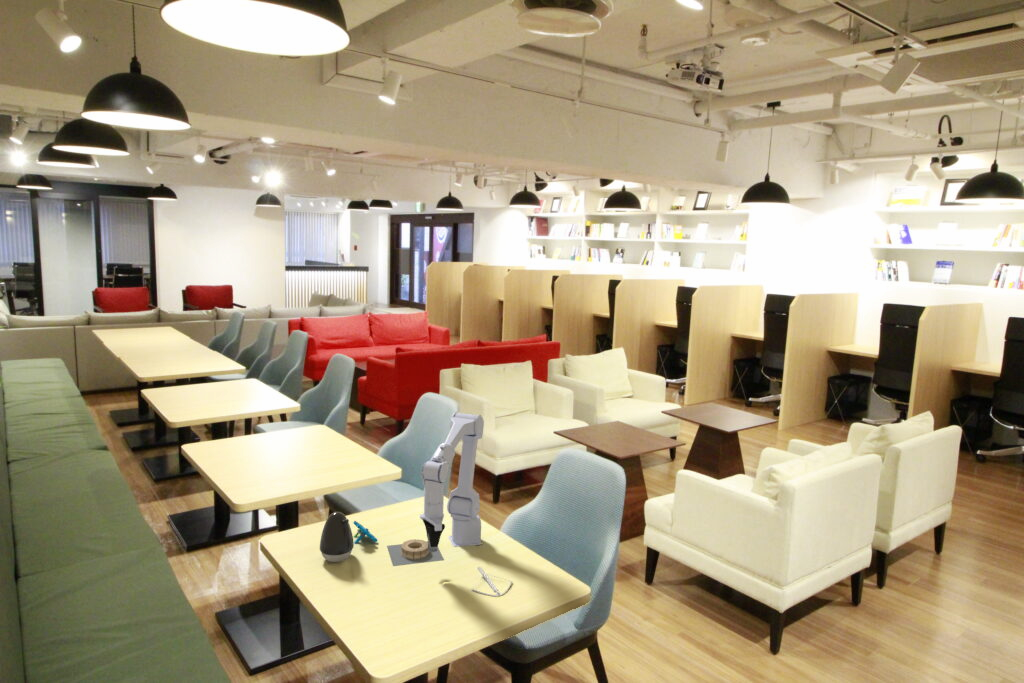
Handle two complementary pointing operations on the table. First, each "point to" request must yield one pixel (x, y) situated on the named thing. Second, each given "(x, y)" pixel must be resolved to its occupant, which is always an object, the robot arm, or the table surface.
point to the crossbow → (490, 584)
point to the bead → (414, 549)
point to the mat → (400, 560)
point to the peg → (431, 549)
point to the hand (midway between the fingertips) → (432, 543)
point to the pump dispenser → (336, 538)
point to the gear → (363, 533)
